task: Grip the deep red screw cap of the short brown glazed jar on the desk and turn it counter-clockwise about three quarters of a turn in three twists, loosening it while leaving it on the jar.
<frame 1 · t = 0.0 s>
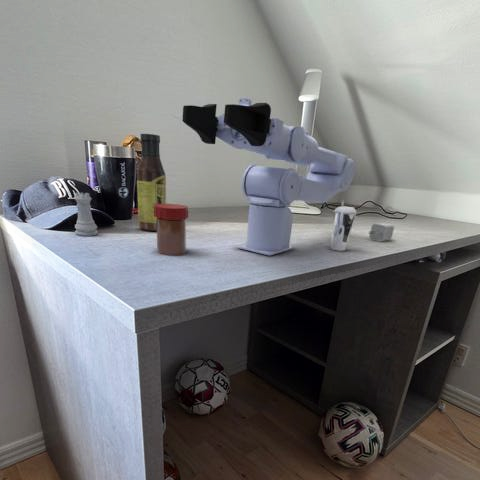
hand: (204, 113, 47), 22 cm above the table, tool horizontal, fingers open, 7 cm apart
cap: (171, 208, 61), point 8 cm above the table, screwed on, not yet turned
sauce bottle: (152, 230, 82), on the table
usb wall charger: (377, 240, 90), on the table
jar: (171, 251, 64), on the table
milkshake: (337, 249, 77), on the table
rook chess piece: (87, 234, 72), on the table
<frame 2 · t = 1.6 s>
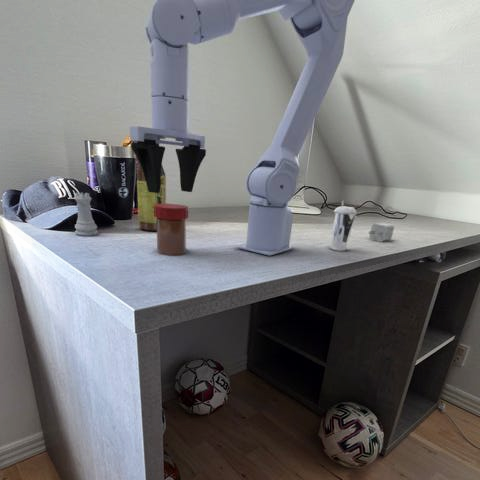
hand: (171, 191, 60), 10 cm above the table, tool pointing down, fingers open, 7 cm apart
nothing on the table moved.
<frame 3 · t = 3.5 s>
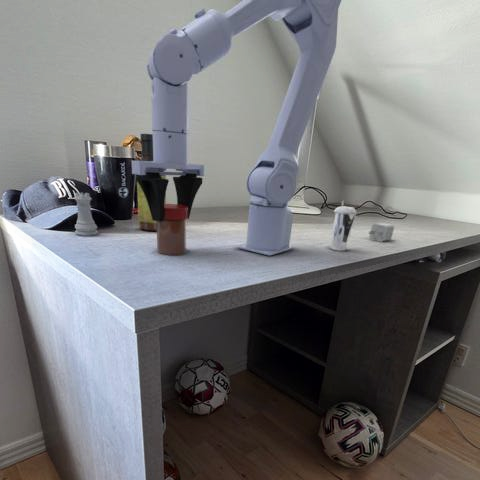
hand: (171, 219, 62), 6 cm above the table, tool pointing down, fingers closed on cap, 6 cm apart
cap: (171, 208, 61), point 8 cm above the table, screwed on, not yet turned, touching gripper
everything else where it was.
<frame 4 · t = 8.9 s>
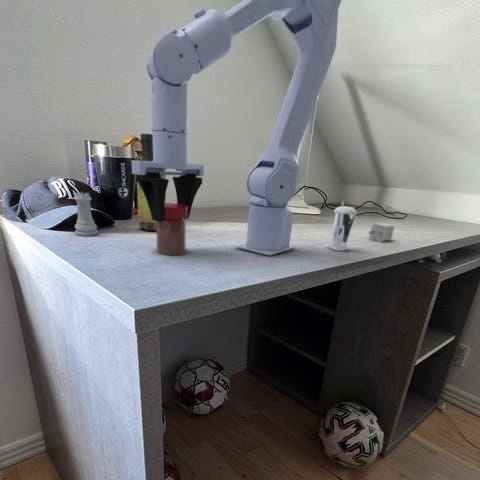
hand: (171, 219, 62), 6 cm above the table, tool pointing down, fingers closed on cap, 6 cm apart
cap: (171, 207, 61), point 8 cm above the table, turned 87° so far, risen 0.1 cm, still on its thread, touching gripper
everything else where it was.
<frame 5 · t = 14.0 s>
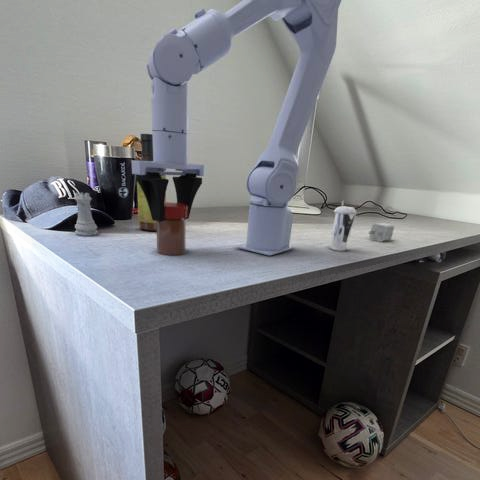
hand: (171, 219, 62), 6 cm above the table, tool pointing down, fingers closed on cap, 6 cm apart
cap: (171, 206, 61), point 8 cm above the table, turned 174° so far, risen 0.2 cm, still on its thread, touching gripper
everything else where it was.
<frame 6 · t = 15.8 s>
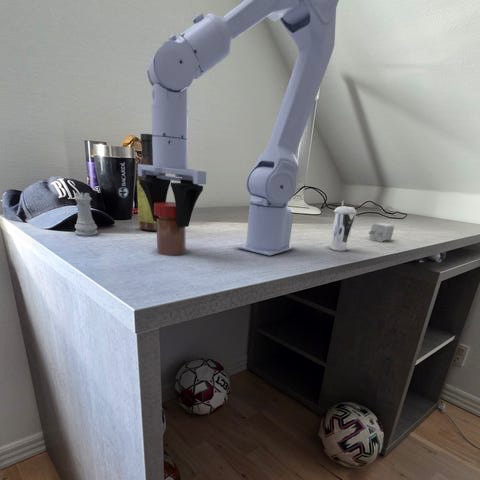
hand: (170, 223, 62), 5 cm above the table, tool pointing down, fingers closed on cap, 5 cm apart
cap: (171, 206, 61), point 8 cm above the table, turned 261° so far, risen 0.3 cm, still on its thread, touching gripper
everything else where it was.
when the fingers open (2 cm above the table, at t = 17.3 s): cap stays where it is, point 8 cm above the table.
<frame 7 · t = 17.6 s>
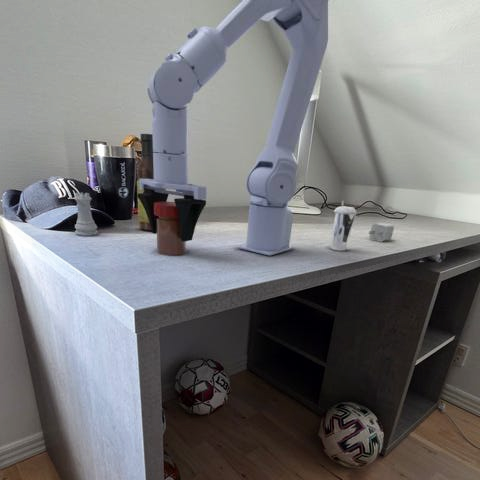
hand: (171, 236, 63), 3 cm above the table, tool pointing down, fingers open, 7 cm apart
cap: (171, 206, 61), point 8 cm above the table, turned 262° so far, risen 0.4 cm, still on its thread
everything else where it was.
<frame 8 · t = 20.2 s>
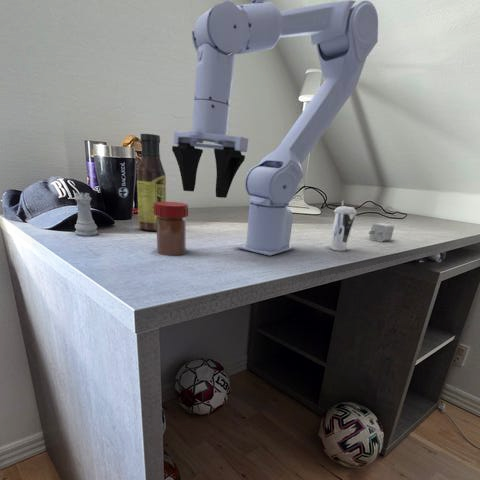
hand: (204, 194, 60), 10 cm above the table, tool pointing down, fingers open, 7 cm apart
nothing on the table moved.
at the end: cap turned 0.73 turns (still on its thread); cap is still on its thread (0.73 turns) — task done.
